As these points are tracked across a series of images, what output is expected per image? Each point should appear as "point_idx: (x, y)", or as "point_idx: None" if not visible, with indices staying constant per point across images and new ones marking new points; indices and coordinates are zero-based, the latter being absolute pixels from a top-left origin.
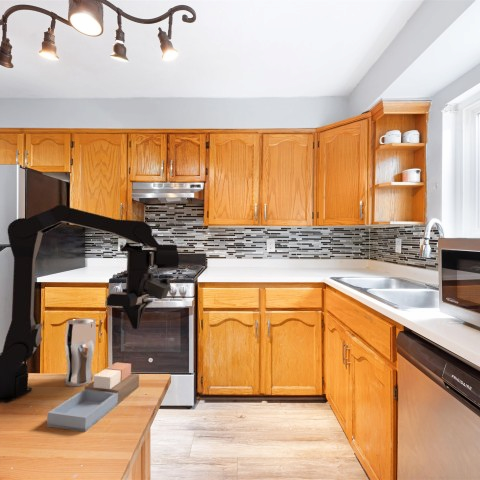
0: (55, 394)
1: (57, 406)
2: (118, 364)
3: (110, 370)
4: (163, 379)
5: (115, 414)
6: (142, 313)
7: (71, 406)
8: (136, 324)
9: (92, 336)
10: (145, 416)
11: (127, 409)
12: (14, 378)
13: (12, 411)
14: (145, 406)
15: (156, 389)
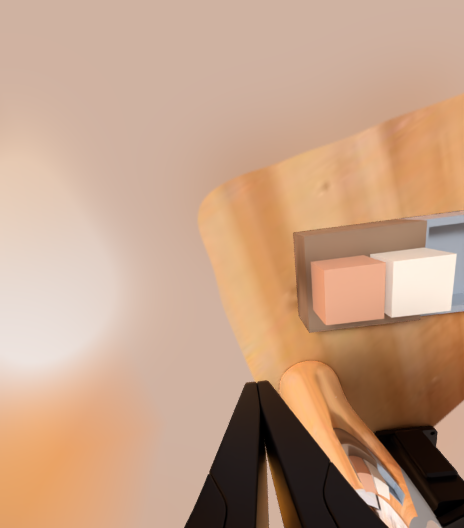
0: (379, 379)
1: None
2: (341, 306)
3: (400, 293)
4: (223, 195)
5: (441, 191)
6: (226, 500)
7: (456, 296)
8: (284, 406)
9: (386, 500)
10: (439, 110)
11: (414, 179)
12: (458, 475)
13: (459, 391)
14: (391, 143)
15: (291, 175)
